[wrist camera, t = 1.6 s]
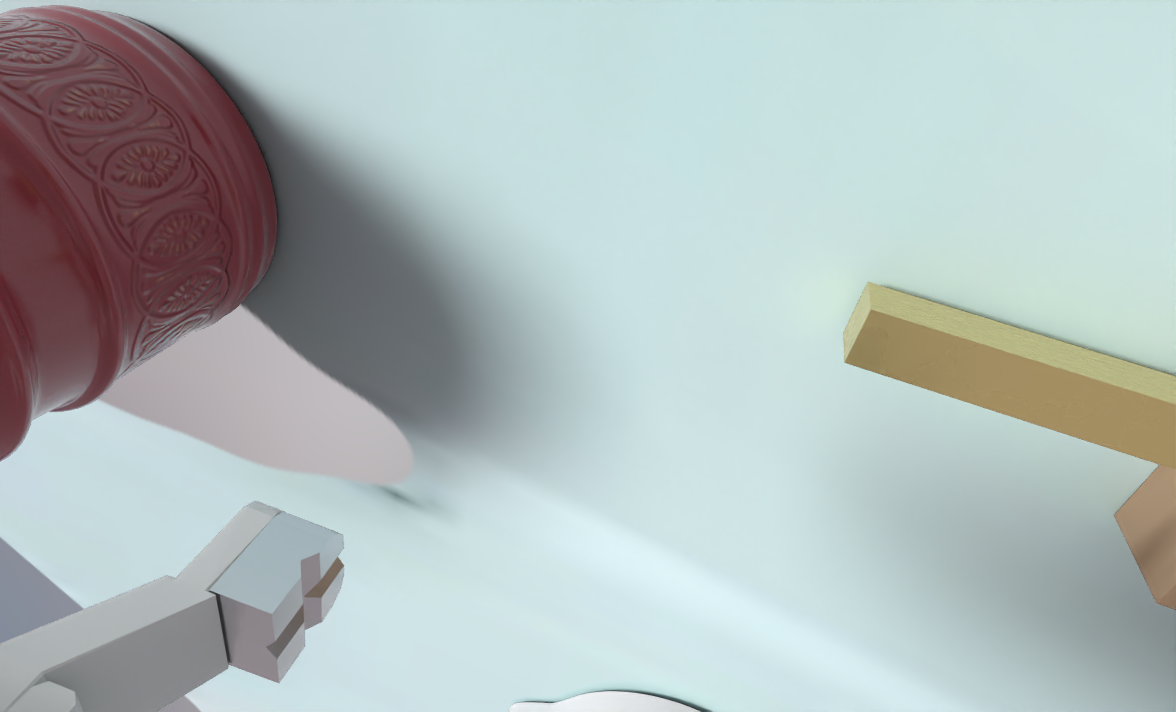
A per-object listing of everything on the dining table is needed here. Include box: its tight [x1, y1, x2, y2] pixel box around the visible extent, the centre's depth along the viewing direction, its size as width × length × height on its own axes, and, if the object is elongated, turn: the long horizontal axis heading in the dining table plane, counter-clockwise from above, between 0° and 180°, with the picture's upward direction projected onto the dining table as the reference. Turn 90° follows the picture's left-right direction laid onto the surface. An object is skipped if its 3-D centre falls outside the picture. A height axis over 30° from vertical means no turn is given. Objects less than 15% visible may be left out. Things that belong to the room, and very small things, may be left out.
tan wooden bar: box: [843, 282, 1176, 470], centre depth 22 cm, size 12×2×2 cm, turn 78°
